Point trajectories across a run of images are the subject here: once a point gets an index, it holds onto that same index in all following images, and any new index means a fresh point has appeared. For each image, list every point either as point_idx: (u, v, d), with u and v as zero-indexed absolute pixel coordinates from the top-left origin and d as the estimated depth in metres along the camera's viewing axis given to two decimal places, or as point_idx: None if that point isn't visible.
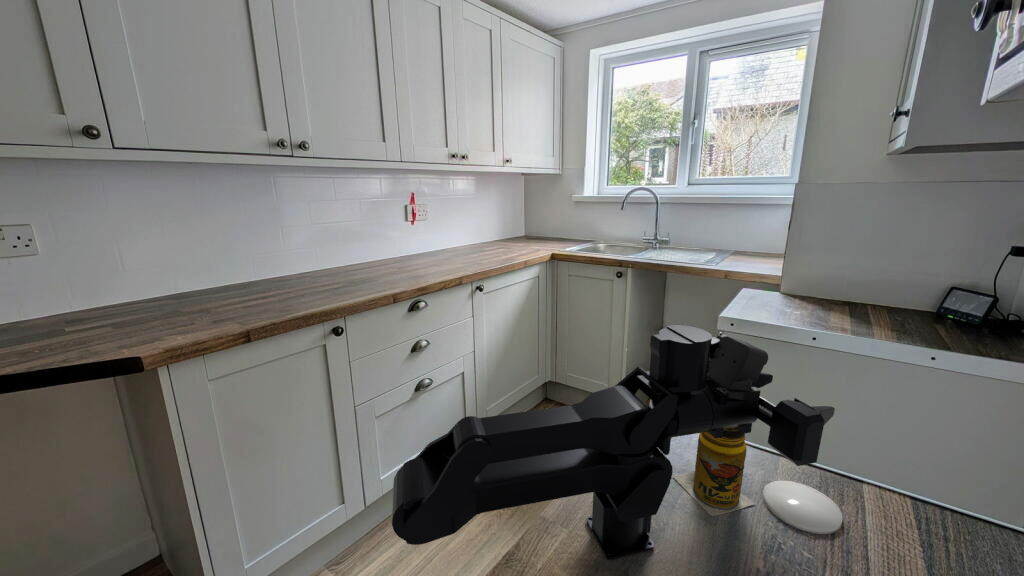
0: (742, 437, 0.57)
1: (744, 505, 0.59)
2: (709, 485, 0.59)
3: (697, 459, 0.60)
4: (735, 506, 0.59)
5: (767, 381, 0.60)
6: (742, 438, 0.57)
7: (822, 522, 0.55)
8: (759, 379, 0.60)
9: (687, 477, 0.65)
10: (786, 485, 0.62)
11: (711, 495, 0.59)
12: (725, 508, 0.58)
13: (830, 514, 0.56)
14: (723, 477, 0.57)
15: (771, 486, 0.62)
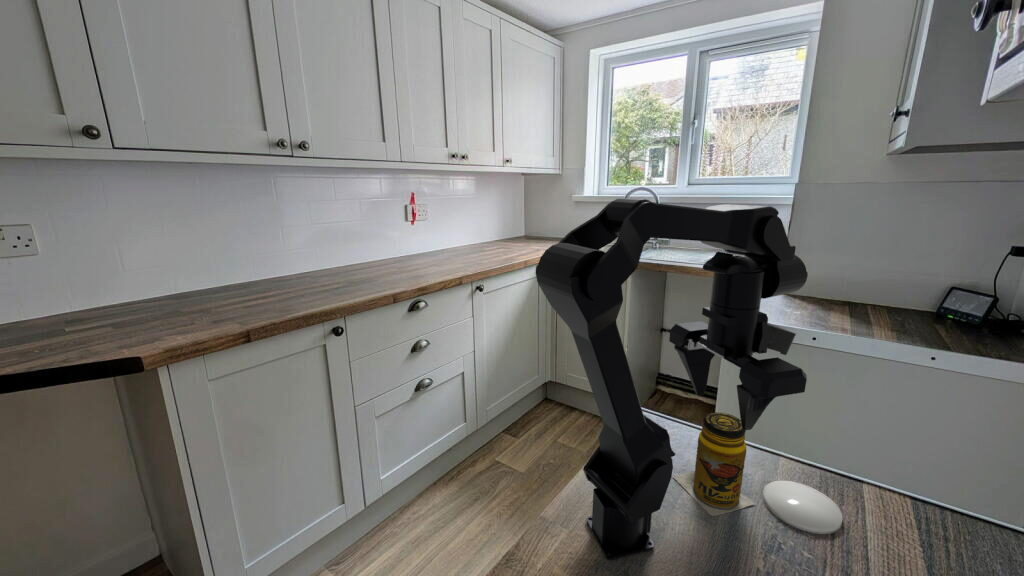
0: (742, 437, 0.57)
1: (744, 505, 0.59)
2: (709, 485, 0.59)
3: (697, 459, 0.60)
4: (735, 506, 0.59)
5: (699, 390, 0.63)
6: (742, 438, 0.57)
7: (822, 522, 0.55)
8: (702, 381, 0.63)
9: (687, 477, 0.65)
10: (786, 485, 0.62)
11: (711, 495, 0.59)
12: (725, 508, 0.58)
13: (830, 514, 0.56)
14: (723, 477, 0.57)
15: (771, 486, 0.62)
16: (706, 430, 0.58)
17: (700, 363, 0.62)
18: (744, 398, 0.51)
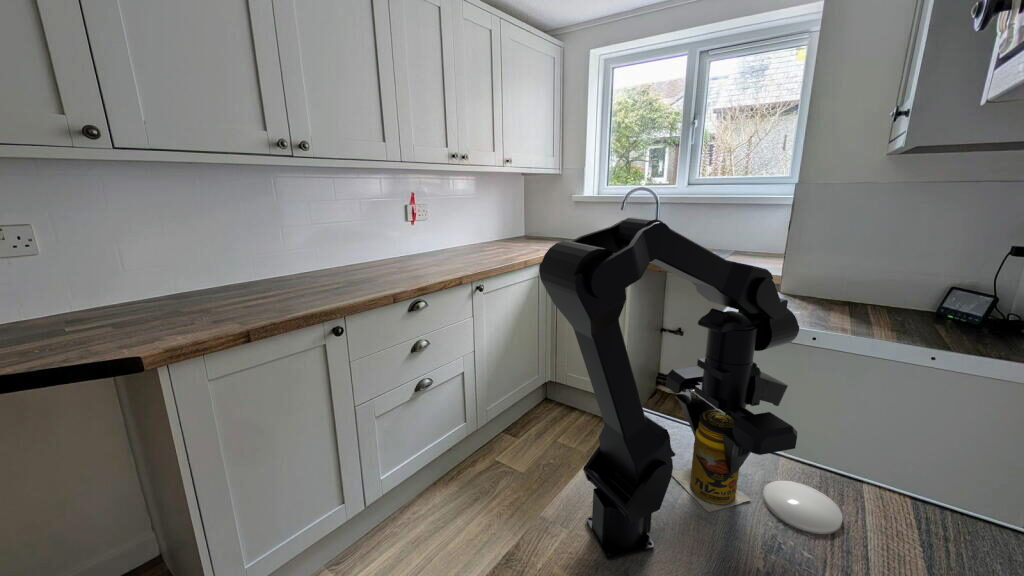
0: None
1: (740, 501, 0.60)
2: (705, 481, 0.59)
3: (694, 456, 0.61)
4: (732, 501, 0.60)
5: None
6: None
7: (822, 522, 0.55)
8: None
9: (684, 473, 0.66)
10: (786, 485, 0.62)
11: (707, 491, 0.59)
12: (721, 504, 0.59)
13: (830, 514, 0.56)
14: (719, 473, 0.58)
15: (771, 486, 0.62)
16: (703, 426, 0.59)
17: None
18: (729, 445, 0.54)
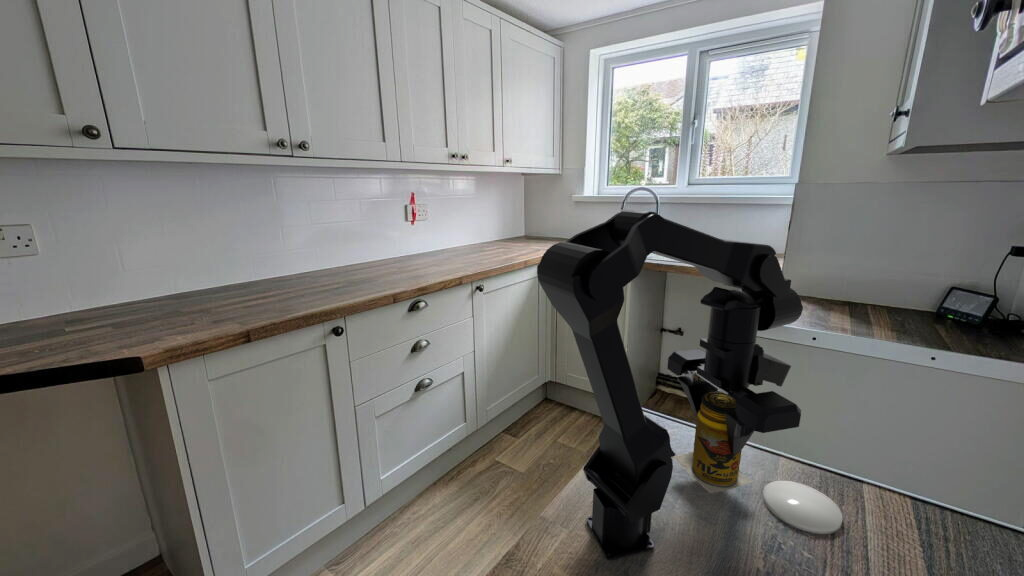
0: None
1: (743, 483, 0.59)
2: (707, 463, 0.59)
3: (696, 438, 0.60)
4: (734, 483, 0.59)
5: None
6: None
7: (822, 522, 0.55)
8: None
9: (686, 457, 0.65)
10: (786, 485, 0.62)
11: (710, 473, 0.59)
12: (724, 486, 0.59)
13: (830, 514, 0.56)
14: (721, 454, 0.57)
15: (771, 486, 0.62)
16: (705, 408, 0.58)
17: None
18: (731, 425, 0.54)
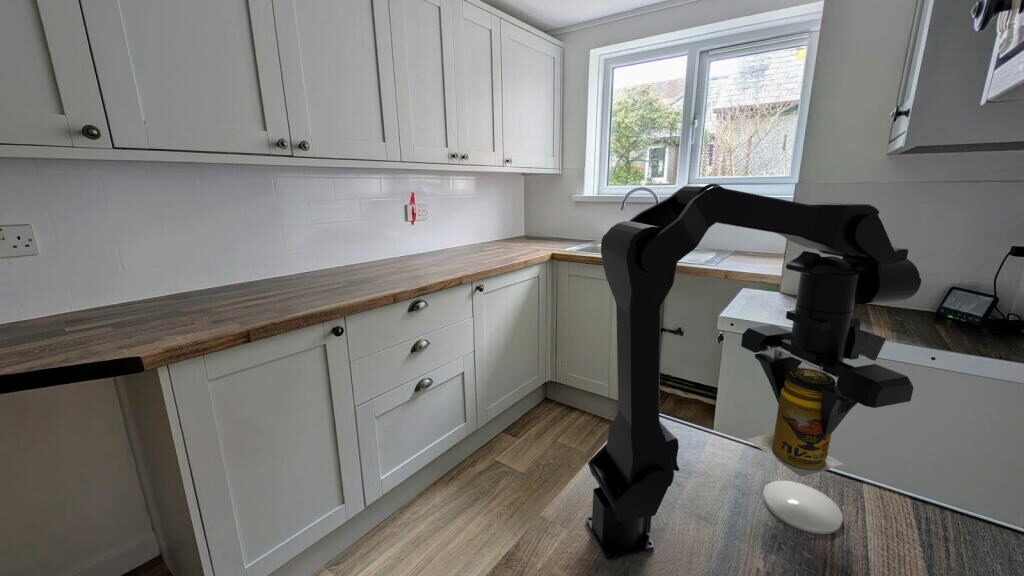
0: None
1: (832, 465, 0.55)
2: (795, 444, 0.55)
3: (780, 418, 0.56)
4: (823, 466, 0.55)
5: None
6: None
7: (822, 522, 0.55)
8: None
9: (763, 439, 0.61)
10: (786, 485, 0.62)
11: (797, 455, 0.55)
12: (813, 469, 0.55)
13: (830, 514, 0.56)
14: (812, 434, 0.53)
15: (771, 486, 0.62)
16: (792, 385, 0.54)
17: (785, 373, 0.58)
18: (829, 402, 0.50)
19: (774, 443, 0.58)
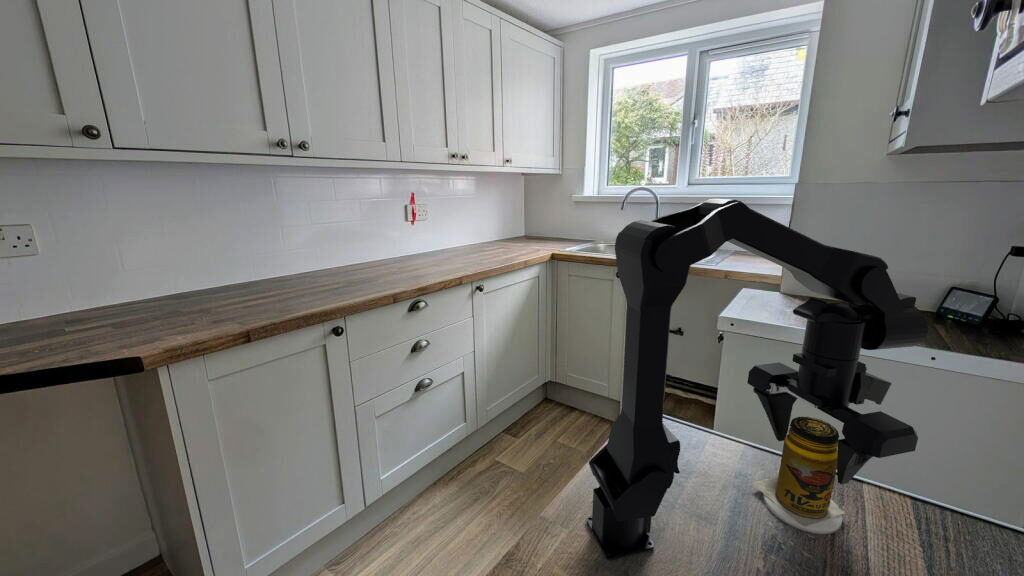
0: (836, 443, 0.54)
1: (834, 514, 0.56)
2: (798, 493, 0.56)
3: (784, 466, 0.57)
4: (825, 515, 0.56)
5: (780, 436, 0.61)
6: (836, 444, 0.54)
7: (822, 522, 0.55)
8: (784, 427, 0.61)
9: (766, 483, 0.62)
10: None
11: (800, 504, 0.56)
12: (815, 518, 0.56)
13: None
14: (815, 485, 0.54)
15: None
16: (796, 435, 0.55)
17: (782, 408, 0.60)
18: (846, 454, 0.49)
19: (777, 489, 0.59)
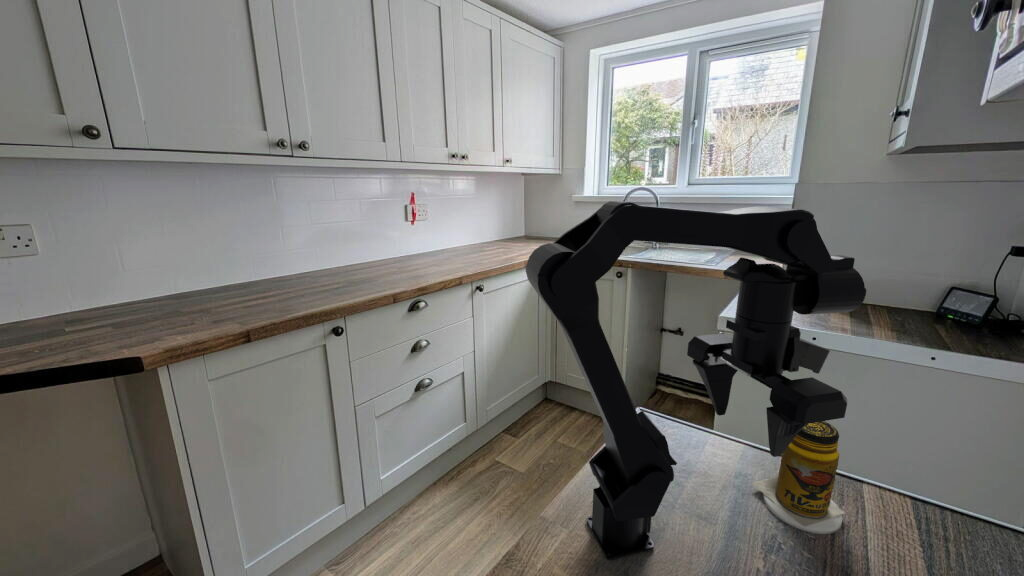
0: (836, 443, 0.54)
1: (834, 514, 0.56)
2: (798, 493, 0.56)
3: (784, 466, 0.57)
4: (825, 515, 0.56)
5: (720, 409, 0.58)
6: (836, 444, 0.54)
7: (822, 522, 0.55)
8: (723, 400, 0.57)
9: (766, 483, 0.62)
10: None
11: (800, 504, 0.56)
12: (815, 518, 0.56)
13: None
14: (815, 485, 0.54)
15: None
16: (796, 435, 0.55)
17: (721, 380, 0.57)
18: (774, 423, 0.46)
19: (777, 489, 0.59)
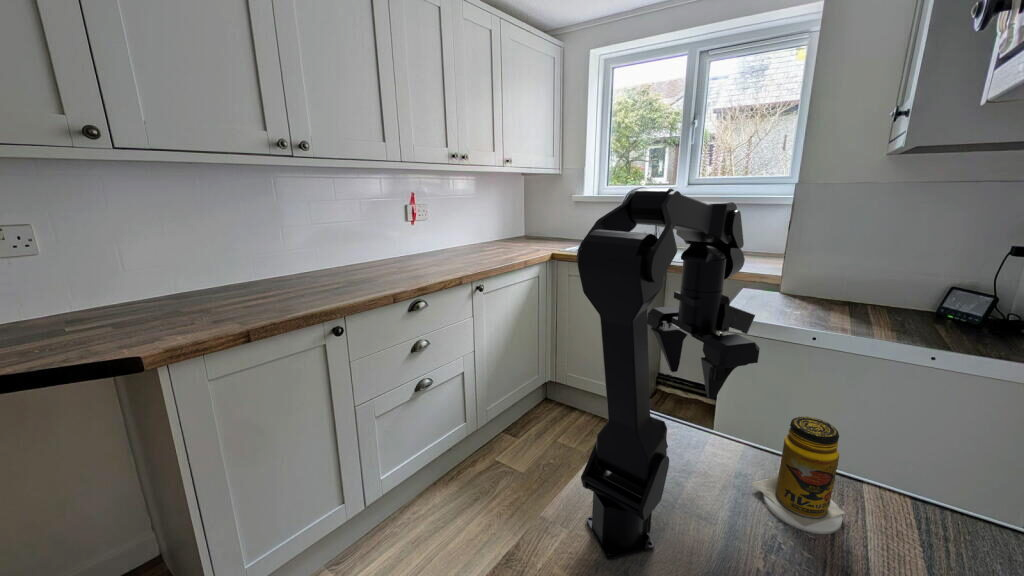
0: (836, 443, 0.54)
1: (834, 514, 0.56)
2: (798, 493, 0.56)
3: (784, 466, 0.57)
4: (825, 515, 0.56)
5: (673, 367, 0.71)
6: (836, 444, 0.54)
7: (822, 522, 0.55)
8: (676, 359, 0.70)
9: (766, 483, 0.62)
10: None
11: (800, 504, 0.56)
12: (815, 518, 0.56)
13: None
14: (815, 485, 0.54)
15: None
16: (796, 435, 0.55)
17: (674, 343, 0.70)
18: (707, 369, 0.59)
19: (777, 489, 0.59)
